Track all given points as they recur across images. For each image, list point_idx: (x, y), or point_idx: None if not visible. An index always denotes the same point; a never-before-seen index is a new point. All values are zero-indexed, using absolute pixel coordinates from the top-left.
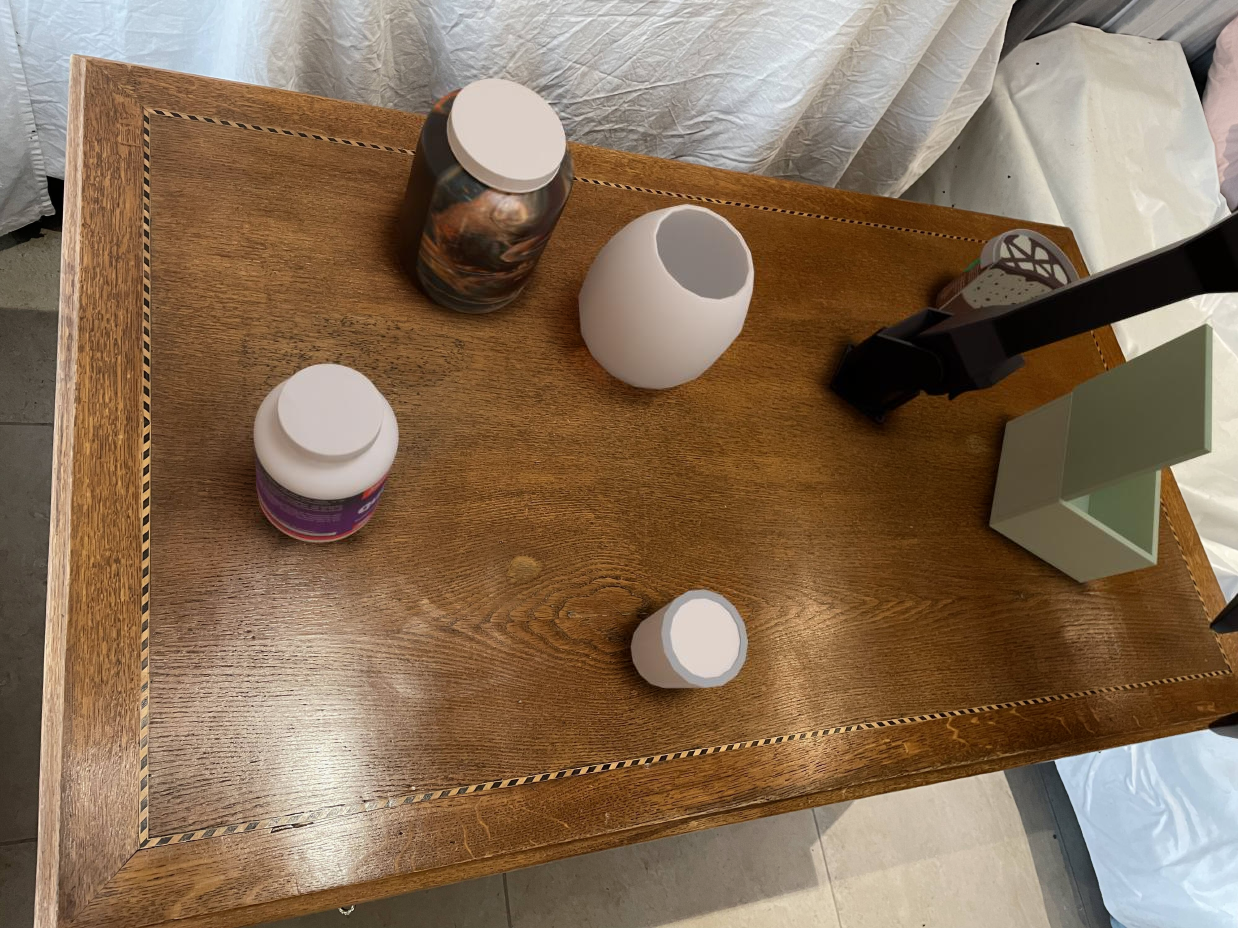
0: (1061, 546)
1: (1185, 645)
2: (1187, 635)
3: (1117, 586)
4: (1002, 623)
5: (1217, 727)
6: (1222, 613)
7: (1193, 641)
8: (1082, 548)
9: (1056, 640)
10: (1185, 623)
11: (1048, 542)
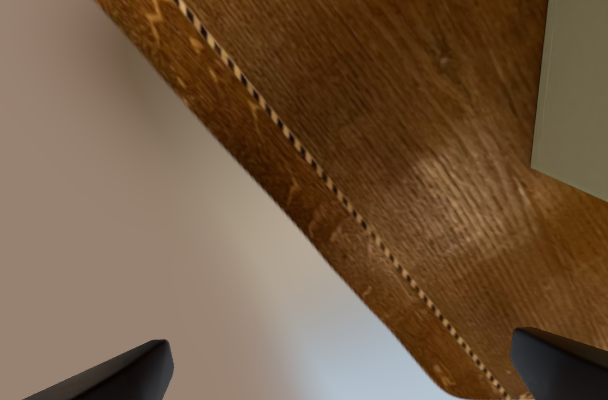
0: (585, 56)
1: None
2: None
3: (557, 233)
4: (372, 38)
5: (112, 359)
6: (602, 356)
7: None
8: (605, 82)
9: (404, 149)
10: None
11: (580, 30)
